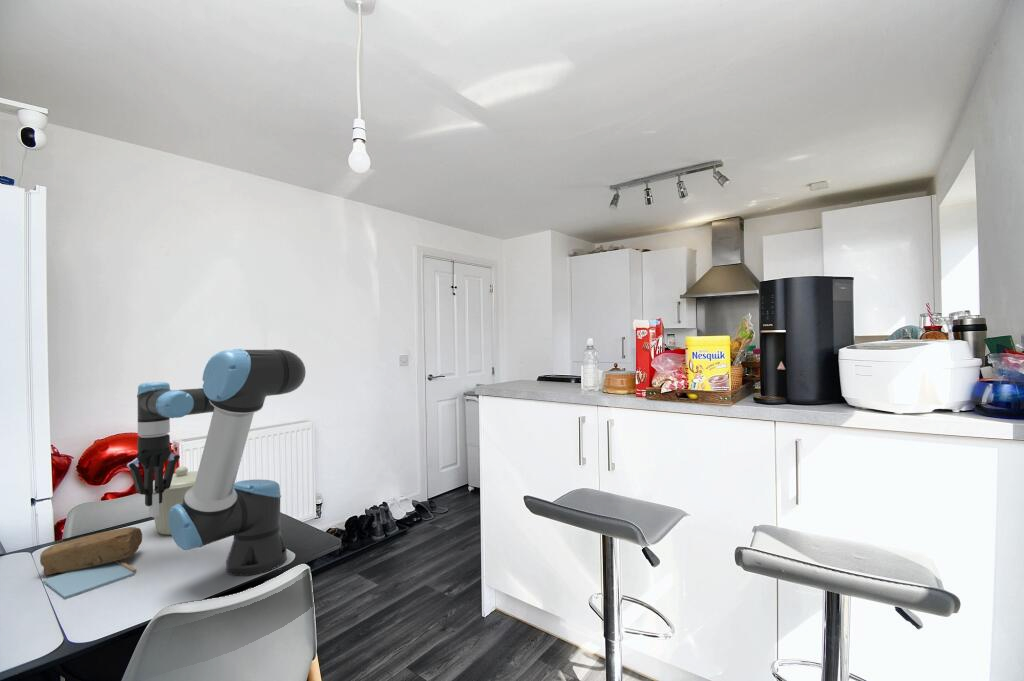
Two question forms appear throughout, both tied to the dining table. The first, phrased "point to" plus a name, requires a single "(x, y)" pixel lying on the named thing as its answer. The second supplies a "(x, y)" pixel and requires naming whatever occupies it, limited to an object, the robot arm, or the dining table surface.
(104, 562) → the pitted brown rock
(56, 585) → the book
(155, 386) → the robot arm
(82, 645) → the dining table surface
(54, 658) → the dining table surface
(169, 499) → the canister
